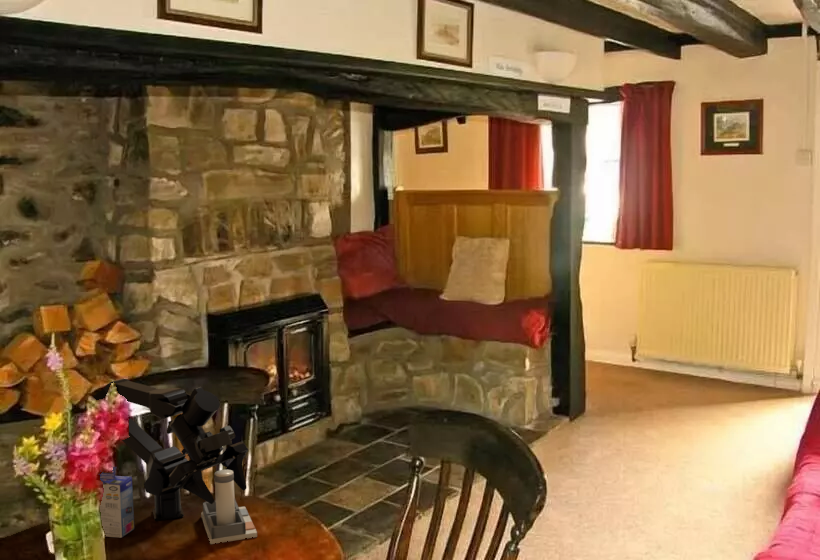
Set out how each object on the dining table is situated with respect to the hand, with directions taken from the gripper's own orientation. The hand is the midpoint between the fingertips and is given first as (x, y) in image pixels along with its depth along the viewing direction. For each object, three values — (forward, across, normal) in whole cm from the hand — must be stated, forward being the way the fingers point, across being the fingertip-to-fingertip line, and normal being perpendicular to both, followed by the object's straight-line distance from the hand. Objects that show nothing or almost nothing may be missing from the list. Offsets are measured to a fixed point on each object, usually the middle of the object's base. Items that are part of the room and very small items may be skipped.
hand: (229, 496), depth 185 cm
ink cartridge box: (-10, -14, +24) cm, 29 cm away
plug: (+5, 0, +7) cm, 8 cm away
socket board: (+4, +3, +9) cm, 10 cm away
